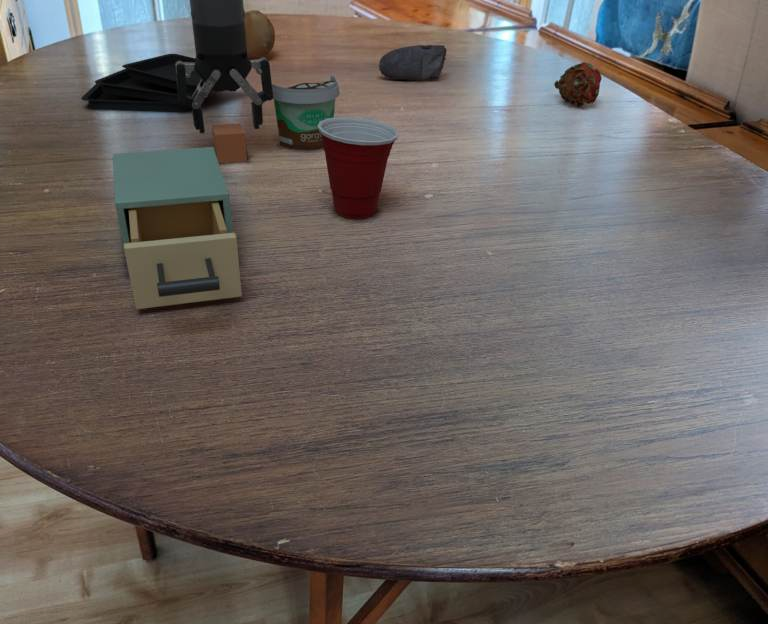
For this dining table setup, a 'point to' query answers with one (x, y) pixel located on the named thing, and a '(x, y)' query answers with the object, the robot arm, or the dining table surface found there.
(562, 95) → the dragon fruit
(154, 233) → the drawer
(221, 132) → the block
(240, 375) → the dining table surface
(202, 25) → the robot arm
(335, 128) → the plastic cup
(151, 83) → the tray
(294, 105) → the food container
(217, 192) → the cabinet
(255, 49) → the brown oval lump
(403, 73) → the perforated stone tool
